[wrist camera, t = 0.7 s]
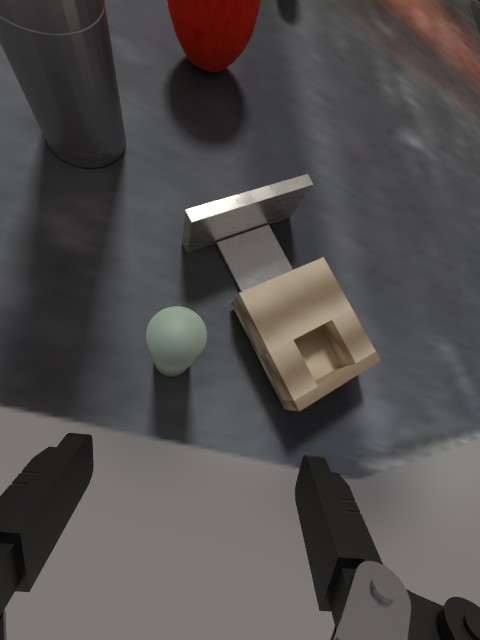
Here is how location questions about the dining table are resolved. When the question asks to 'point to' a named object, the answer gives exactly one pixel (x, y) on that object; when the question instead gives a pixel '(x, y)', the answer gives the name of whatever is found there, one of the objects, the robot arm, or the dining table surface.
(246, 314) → the socket block
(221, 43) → the apple
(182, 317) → the dowel
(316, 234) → the dining table surface
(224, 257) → the rail base
